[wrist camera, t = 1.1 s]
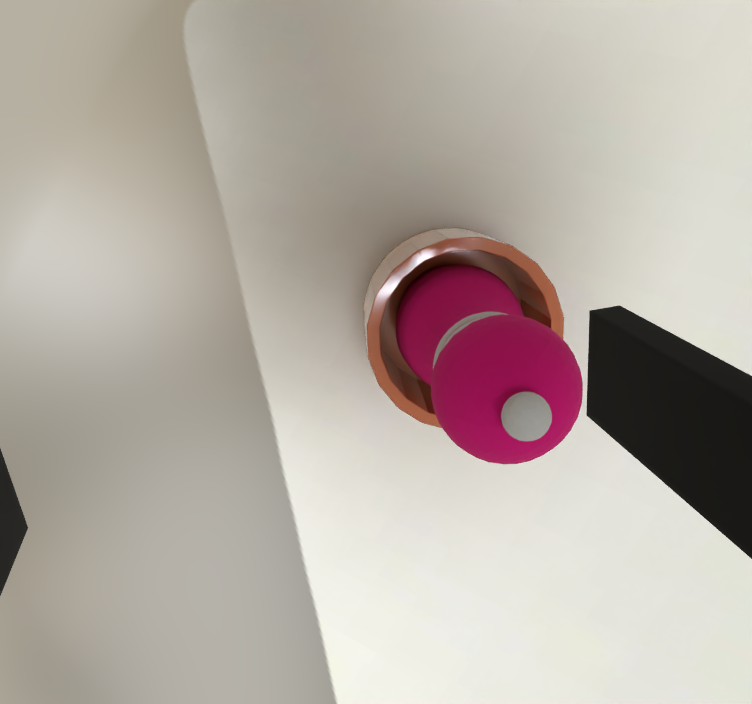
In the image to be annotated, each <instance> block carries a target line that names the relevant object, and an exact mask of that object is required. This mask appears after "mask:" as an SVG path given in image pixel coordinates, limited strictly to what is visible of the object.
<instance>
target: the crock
mask: <svg viewBox="0 0 752 704" xmlns="http://www.w3.org/2000/svg"><path fill="white" fill-rule="evenodd" d="M460 264H461V265H472V266H476V267H481V268H483V269H485V270H488V271H490V272H492V273H493V274H495V275H496V276H498V277H499V278H500V279H502V280H503V281H504V282H505V283H506V284H507V285H508V287H509V288H510V289H511V290H512V292H513V293H514V295H515V296H516V298H517V299H518V301H519V303H520V306H521V308H522V311H523V315H524V317H527V318H531V319H533V320H536V321H538V322H540V323H542V324H544V325H546V326H548V327H549V328H550V329H552V330H553V331H554V332H556V333H557V334H558V335H559V336H560V337H561V338H562V339H563V328H564V317H563V313H562V309H561V306H560V303H559V300H558V296H557V293H556V290H555V288H554V286H553V284H552V283H551V282H550V280H549V279H548V277H547V276H546V275H545V273H544V272H543V271H542V269H541V268H540V267H539V265H538V264H537V263H536V262H535V261H533V260H532V259H530V258H529V257H528V256H526V255H525V254H523V253H522V252H520V251H519V250H517V249H516V248H515V247H513V246H511V245H509V244H507V243H504V242H502V241H499V240H497V239H494V238H492V237H489V236H487V235H483V234H480V233H476V232H473V231H469V230H466V229H462V228H441V229H434V230H430V231H426V232H423V233H420V234H418V235H415V236H413V237H411V238H409V239H407V240H406V241H404V242H402V243H401V244H399V245H398V246H397V247H396V248H394V249H393V250H392V251H391V252H390V253H389V254H388V255H387V256H386V257H385V258H384V259H383V261H382V262H381V263H380V265H379V266H378V268H377V269H376V271H375V273H374V275H373V276H372V278H371V280H370V283H369V286H368V289H367V293H366V297H365V302H364V327H365V337H366V345H367V353H368V359H369V361H370V364H371V366H372V369H373V371H374V374H375V377H376V379H377V382H378V384H379V386H380V387H381V388H382V389H383V391H384V392H385V393H386V394H387V395H388V397H389V398H390V399H391V400H392V401H393V403H394V404H395V405H396V406H397V407H398V408H399V409H400V410H402V411H404V412H405V413H407V414H409V415H410V416H412V417H413V418H415V419H417V420H418V421H420V422H422V423H424V424H428V425H432V426H436V427H440V428H442V427H441V425H440V424H439V422H438V419H437V417H436V415H435V412H434V409H433V403H432V398H431V386H430V385H428V384H427V383H425V382H423V381H422V380H421V379H420V378H419V377H418V376H417V375H415V374H414V372H413V371H412V370H411V369H410V367H409V366H408V365H407V363H406V362H405V360H404V359H403V357H402V355H401V352H400V350H399V347H398V343H397V339H396V319H397V314H398V310H399V307H400V304H401V301H402V298H403V295H404V293H405V291H406V289H407V288H408V286H409V285H410V284H411V283H412V282H413V281H414V280H415V279H416V278H417V277H418V276H419V275H421V274H422V273H423V272H425V271H427V270H429V269H431V268H434V267H437V266H441V265H460Z"/></svg>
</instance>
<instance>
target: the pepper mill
mask: <svg viewBox="0 0 752 704" xmlns="http://www.w3.org/2000/svg"><path fill="white" fill-rule="evenodd" d="M396 339H397V343H398V347H399V350H400V352H401V355H402V357H403V359H404V360H405V362H406V363H407V365H408V366H409V367H410V369H411V370H412V371H413V372H414V374H415V375H417V376H418V377H419V378H420V379H421V380H422V381H423V382H425V383H427V384H428V385H430V386H431V398H432V403H433V409H434V412H435V415H436V417H437V419H438V422H439V424H440V425H441V427H442V428H443V430H444V431H445V432H446V433H447V435H448V436H449V437H450V438H451V440H452V441H453V442H454V443H455V444H456V445H457V446H459V447H460V448H462V449H463V450H465V451H466V452H468V453H469V454H471V455H473V456H475V457H476V458H479V459H482V460H484V461H487V462H492V463H500V464H517V463H522V462H527V461H531V460H533V459H535V458H537V457H540V456H542V455H544V454H545V453H547V452H548V451H550V450H551V449H553V448H554V447H555V446H557V445H558V444H559V443H560V442H561V441H562V440H563V439H564V438H565V437H566V435H567V434H568V433H569V431H570V430H571V428H572V427H573V425H574V423H575V421H576V419H577V418H578V414H579V411H580V407H581V403H582V377H581V372H580V368H579V366H578V364H577V361H576V359H575V356H574V354H573V353H572V351H571V350H570V348H569V347H568V345H567V344H566V343H565V342H564V340H563V339H562V338H561V337H560V336H559V335H558V334H557V333H556V332H554V331H553V330H552V329H550V328H549V327H548V326H546V325H544V324H542V323H540V322H538V321H536V320H533V319H531V318H527V317H524V315H523V311H522V308H521V306H520V303H519V301H518V299H517V298H516V296H515V295H514V293H513V292H512V290H511V289H510V288H509V287H508V285H507V284H506V283H505V282H504V281H503V280H502V279H500V278H499V277H498V276H496V275H495V274H493V273H492V272H490V271H488V270H485V269H483V268H481V267H476V266H472V265H461V264H460V265H441V266H437V267H434V268H431V269H429V270H427V271H425V272H423V273H422V274H421V275H419V276H418V277H417V278H416V279H415V280H414V281H413V282H412V283H411V284H410V285H409V286H408V288H407V289H406V291H405V293H404V295H403V298H402V301H401V304H400V307H399V310H398V314H397V319H396Z"/></svg>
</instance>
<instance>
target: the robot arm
mask: <svg viewBox="0 0 752 704" xmlns="http://www.w3.org/2000/svg"><path fill="white" fill-rule="evenodd" d="M587 416H588V417H589V418H590V419H592V420H593V421H594V422H595V423H596V424H597V425H598V426H600V427H601V428H602V429H603V430H604V431H605V432H606V433H608V434H609V435H610V436H611V437H612V438H613V439H615V440H616V441H617V442H618V443H619V444H620V445H621V446H623V447H624V448H625V449H626V450H627V451H628V452H629V453H631V454H632V455H633V456H634V457H635V458H636V459H638V460H639V461H640V462H641V463H642V464H643V465H644V466H646V467H647V468H648V469H649V470H650V471H651V472H652V473H654V474H655V475H656V476H657V477H658V478H659V479H661V480H662V481H663V482H664V483H665V484H666V485H667V486H669V487H670V488H671V489H672V490H673V491H674V492H676V493H677V494H678V495H679V496H680V497H681V498H682V499H684V500H685V501H686V502H687V503H688V504H689V505H690V506H692V507H693V508H694V509H695V510H696V511H697V512H699V513H700V514H701V515H702V516H703V517H704V518H705V519H707V520H708V521H709V522H710V523H711V524H712V525H713V526H715V527H716V528H717V529H718V530H719V531H720V532H722V533H723V534H724V535H725V536H726V537H727V538H728V539H730V540H731V541H732V542H733V543H734V544H735V545H736V546H738V547H739V548H740V549H741V550H742V551H743V552H745V553H746V554H747V555H748V556H749V557H750V558H751V559H752V376H750V375H749V374H747V373H745V372H743V371H741V370H739V369H737V368H735V367H734V366H732V365H730V364H728V363H726V362H724V361H722V360H720V359H719V358H717V357H715V356H713V355H711V354H709V353H707V352H706V351H704V350H702V349H700V348H698V347H696V346H694V345H692V344H691V343H689V342H687V341H685V340H683V339H681V338H679V337H677V336H676V335H674V334H672V333H670V332H668V331H666V330H664V329H662V328H661V327H659V326H657V325H655V324H653V323H651V322H649V321H647V320H646V319H644V318H642V317H640V316H638V315H636V314H634V313H632V312H631V311H629V310H627V309H625V308H623V307H621V306H614V307H609V308H603V309H597V310H591V311H590V320H589V353H588V385H587ZM27 529H28V527H27V524H26V521H25V518H24V515H23V512H22V509H21V506H20V504H19V501H18V498H17V495H16V492H15V489H14V486H13V483H12V481H11V478H10V475H9V472H8V469H7V466H6V464H5V461H4V458H3V455H2V452H1V449H0V595H1V593H2V590H3V588H4V585H5V583H6V580H7V578H8V576H9V573H10V571H11V568H12V566H13V563H14V561H15V558H16V556H17V553H18V551H19V548H20V546H21V544H22V541H23V539H24V536H25V534H26V531H27Z"/></svg>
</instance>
